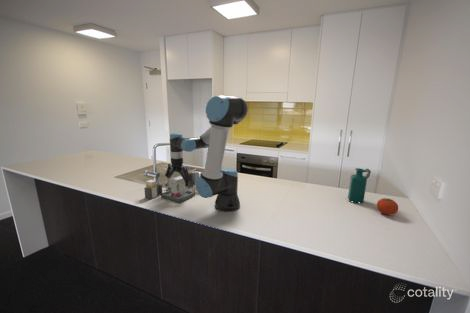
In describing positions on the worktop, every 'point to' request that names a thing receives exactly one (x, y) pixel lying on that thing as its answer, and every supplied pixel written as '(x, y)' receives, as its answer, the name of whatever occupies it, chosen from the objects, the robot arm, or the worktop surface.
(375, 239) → the worktop surface
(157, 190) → the clip holder
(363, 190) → the green bottle
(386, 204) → the tomato
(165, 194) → the tray
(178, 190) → the ink box
